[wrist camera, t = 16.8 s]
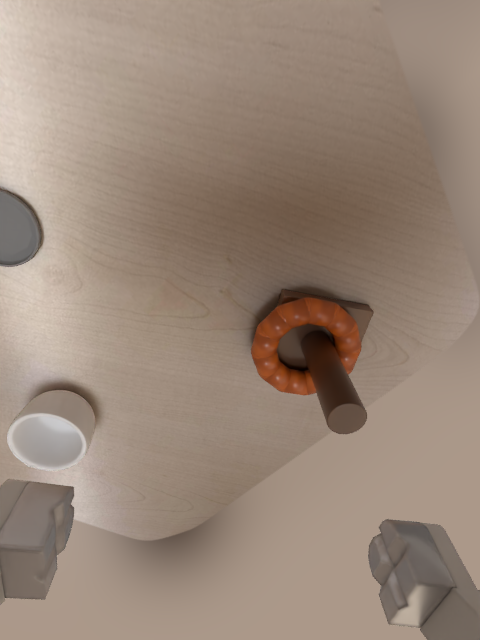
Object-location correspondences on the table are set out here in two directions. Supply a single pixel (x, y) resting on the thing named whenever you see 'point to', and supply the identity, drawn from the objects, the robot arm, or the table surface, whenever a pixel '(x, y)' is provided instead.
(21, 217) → the pocket watch
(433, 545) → the robot arm
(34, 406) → the teacup
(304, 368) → the stand
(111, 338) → the table surface
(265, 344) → the orange beaded ring
